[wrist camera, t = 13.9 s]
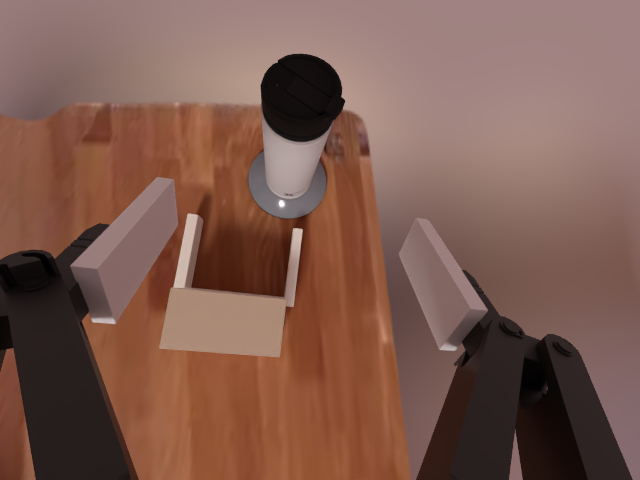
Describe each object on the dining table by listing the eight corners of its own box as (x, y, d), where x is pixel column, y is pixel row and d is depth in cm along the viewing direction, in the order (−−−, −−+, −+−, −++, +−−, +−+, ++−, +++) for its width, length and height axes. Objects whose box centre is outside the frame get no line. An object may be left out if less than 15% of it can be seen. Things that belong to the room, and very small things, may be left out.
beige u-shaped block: (194, 219, 38) (175, 202, 31) (300, 233, 40) (306, 221, 33) (172, 334, 36) (146, 347, 28) (287, 344, 38) (290, 358, 30)
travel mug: (295, 211, 40) (317, 139, 20) (256, 183, 40) (241, 84, 20) (320, 177, 41) (362, 80, 22) (282, 150, 41) (291, 28, 22)
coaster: (235, 164, 40) (234, 161, 40) (303, 135, 43) (303, 132, 42) (271, 232, 40) (271, 231, 39) (338, 198, 42) (339, 197, 41)
